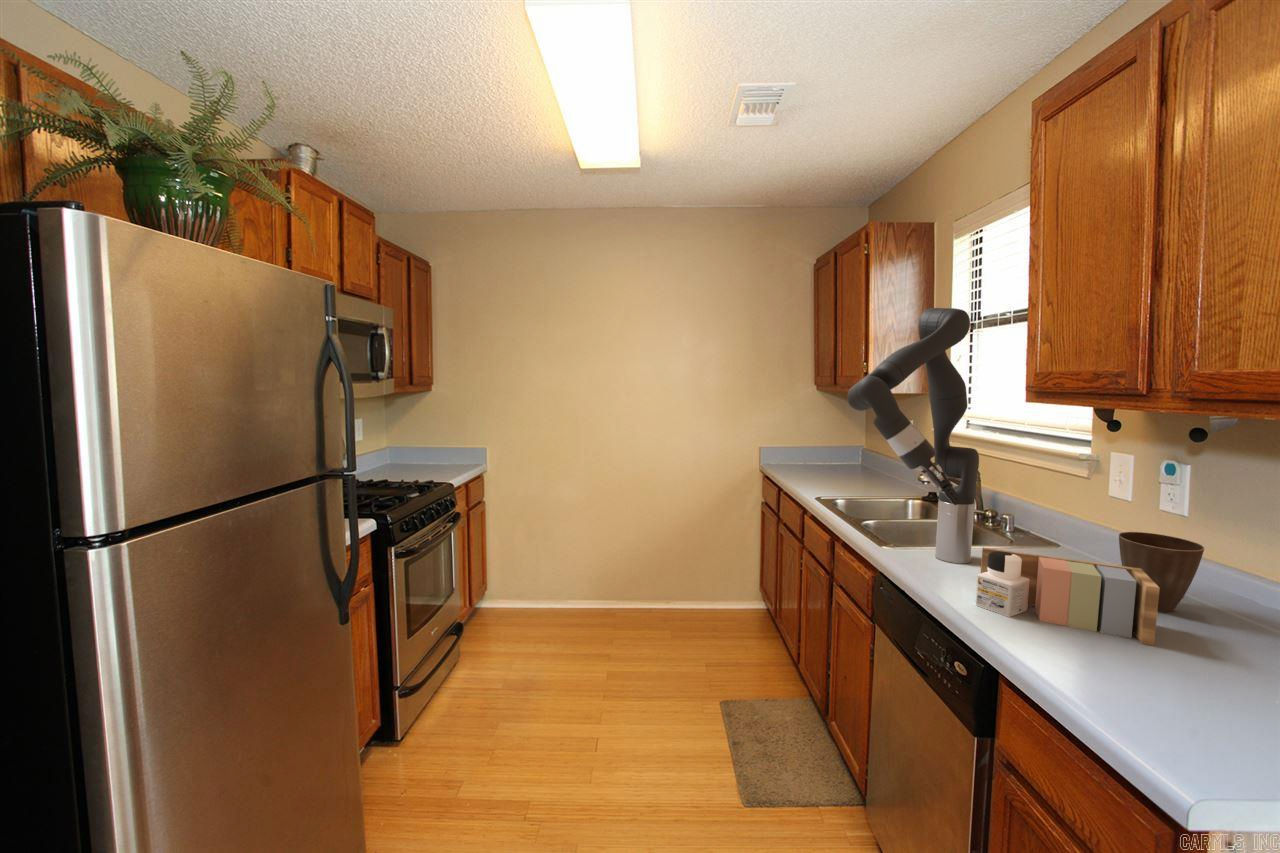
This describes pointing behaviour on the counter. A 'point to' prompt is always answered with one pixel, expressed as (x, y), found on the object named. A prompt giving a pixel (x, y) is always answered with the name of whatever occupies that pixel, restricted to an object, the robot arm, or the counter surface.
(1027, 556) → the wooden book rack
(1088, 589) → the book
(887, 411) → the robot arm
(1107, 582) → the book
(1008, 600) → the container
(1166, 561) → the plant pot
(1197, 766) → the counter surface
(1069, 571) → the book
